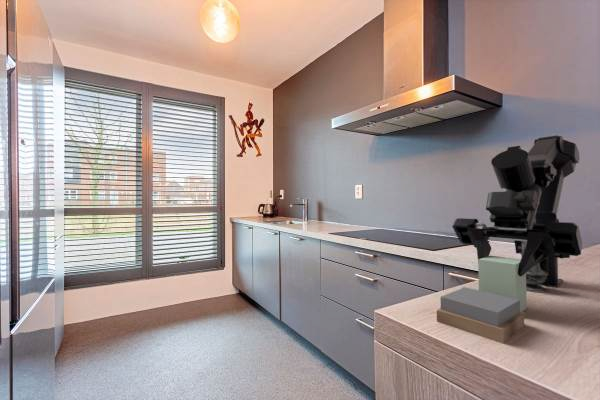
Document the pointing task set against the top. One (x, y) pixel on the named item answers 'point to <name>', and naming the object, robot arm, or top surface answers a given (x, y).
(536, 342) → the top surface
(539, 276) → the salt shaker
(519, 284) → the sage green block
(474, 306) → the charcoal top slab
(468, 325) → the walnut base slab
